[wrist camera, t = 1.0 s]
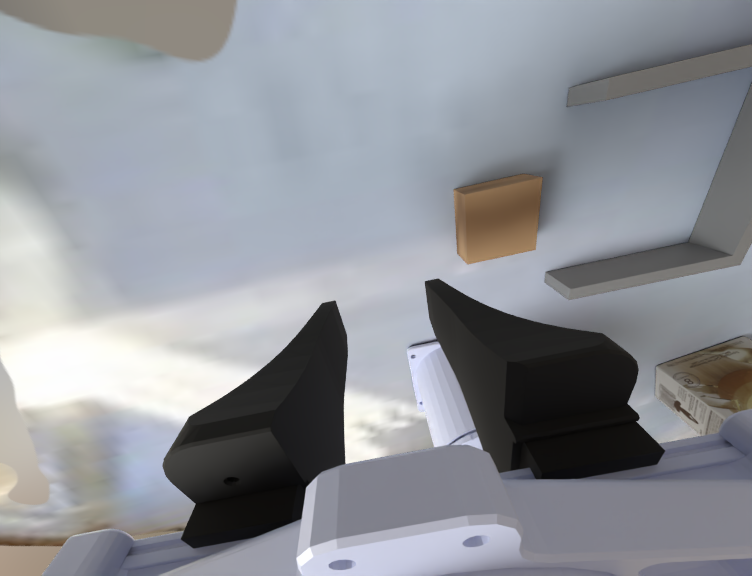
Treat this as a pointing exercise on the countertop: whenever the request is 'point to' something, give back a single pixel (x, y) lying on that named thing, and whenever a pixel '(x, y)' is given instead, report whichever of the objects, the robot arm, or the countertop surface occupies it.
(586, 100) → the grey u-shaped bracket
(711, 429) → the coffee box
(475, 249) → the walnut tile
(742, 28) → the countertop surface
